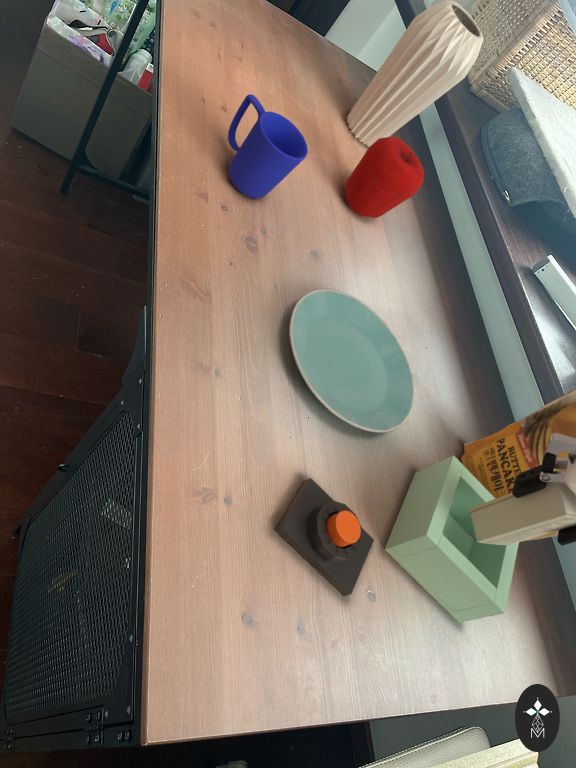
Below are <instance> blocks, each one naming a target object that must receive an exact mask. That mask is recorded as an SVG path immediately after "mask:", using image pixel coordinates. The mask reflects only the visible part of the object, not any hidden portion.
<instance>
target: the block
mask: <svg viewBox="0 0 576 768" xmlns="http://www.w3.org/2000/svg"><path fill="white" fill-rule="evenodd" d="M341 511H349V512H351V513H352V514H353V515H354V516H355V517H356V518H357V520H358V522H359V524H360V528H361V534H360V537H359V539H358V540H357V541H356V542H355V543H352V544H349V545H347V546H344V547H339V546H336V545H335V544H333V543H332V542H331V540H330V539H329V537H328V534H327V532H326V523H327V520H328V518H329V517H330V516H332V515H334V514H337V513H339V512H341ZM275 532H276V533H277V534H278V535H279V536H280V537H281V538H282V539H283V540H284V541H285V542H287V543H288V544H289V545H290V546H291V547H292V548H293V549H294V550H295V551H296V552H297V553H298V554H299V555H301V557H302V558H303V559H304V560H306V562H308V563H309V564H310V565H311V566H312V567H313V568H314V569H315V570H316V571H317V572H318V573H319V574H320V575H321V576H322V577H323V578H325V579H326V580H327V581H328V583H330V584H331V586H333V587H334V588H335V589H336V590H337V591H338V592H339V593H341V594H342V596H343V597H348V596H350V595H352V593H353V592H354V589H355V587H356V584H357V582H358V579H359V577H360V575H361V572H362V570H363V567H364V565H365V563H366V560H367V558H368V556H369V554H370V551H371V549H372V546H373V544H374V542H375V539H374V538H373V537H372V536H371V535H370V534H369V533H368V532H367V531H366V529H364V528H363V527H362V525H361V523H360V520H359V518H358V517H357V514H356V513H355V512H354V511H353V510H352V509H351V508H350V507H349V506H348V505H347V504H345V503H343V502H341V501H336V500H335V499H333V498H332V497H331V496H330V495H329V494H328V493H327V492H326V491H325V490H324V489H323V488H322V487H321V485H318V484H317V482H316V481H315V480H314V479H313V478H312V477H309V478H306V479H305V480H304V481H303V483H302V484H301V486H300V488H298V491H297V492H296V494H295V496H294V498H293V500H292V502H291V503H290V505H289V506H288V508H287V510H286V511H285V513H284V515H283V517H282V518H281V520H280V522H279V524H278V525H277V527H276V529H275Z"/></svg>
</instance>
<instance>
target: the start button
mask: <svg viewBox="0 0 576 768" xmlns="http://www.w3.org/2000/svg"><path fill="white" fill-rule="evenodd" d="M357 518H358V517H357ZM357 518H356V517H355V516H354V515H353V514H352V513H351V512H349V511H341V512H339V513H337V514H334V515H332V516H330V517H329V518H328V520H327V523H326V532H327V534H328V537H329V539H330V540H331V542H332V543H333V544H335V545H336V546H339V547H344V546H347V545H349V544H352V543H355V542H356V541H357V540H358V539H359V537H360V534H361V528H360V525H361V523H360V521H359V519H358V520H357ZM358 521H359V522H358ZM359 523H360V524H359Z"/></svg>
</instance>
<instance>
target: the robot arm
mask: <svg viewBox="0 0 576 768" xmlns="http://www.w3.org/2000/svg"><path fill="white" fill-rule="evenodd" d="M560 452H566V453H568V457H569V458H557V456H558V454H559V453H560ZM554 469H566V471H553V470H554ZM547 482H551V483H566V484H567V486H568V487H569V488H570V490H571V491H572V492H573V493H574V494H575V495H576V438H573V437H569V436H566V435H563V434H559V433H553V434H552V435H551V437H550V439H549V442H548V444H547V447H546V448H545V452H544V457H543V460H542V465H539V466H537V467H534V468H532V469H529V470H527V471H524V472H522V473H520V474H518V475H517V477H516V478H515V482H514V487H513V491H512V494H513V496H514V497H516V498H520V497H523V496H525V495H528V494H531V493H534V492H536V491H539V490H542V489H544V488H545V487H546V485H547ZM557 543H558V544H559V545H560V546H562V547H563V546H566V545H570V544H572V543H576V525H575V526H572V527H569V528H565V529H562V530H559V532H558V535H557Z"/></svg>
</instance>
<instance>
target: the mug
mask: <svg viewBox="0 0 576 768" xmlns="http://www.w3.org/2000/svg"><path fill="white" fill-rule="evenodd" d="M250 105H252V106H253V108H254V109H255V111H256V113H257V120H256V121H255V123H254V125H253V126H252V128H251V129H250V131H249V132H248V133H247V136H246V137H245V138H244V140H243V141H242V142H241V143H242V144H241V145H240V146H239V145H238V142H237V140H236V134H237V129H238V127H239V124H240V122H241V121H242V119H243V117H244V116H245V114H246V112H247V111H248V109H249V107H250ZM227 141H228V144H229V147H230V148H231V149H232V150H233V151H235V152H236V153H235V155H234V156H233V158H232V160H231V161H230V163H229V167H228V175H229V179H230V181H231V183H232V184H233V186H234V187H235V188H236V189H237V191H239V192H240V193H241V194H243V195H244V196H246V197H248V198H251V199H261V198H264V197H265V196H267V195H268V194H269V193H270V192H272V191H273V190H274V189H275V188H276V187H277V186H278V185H279V184H280V183H281V182H282V181H283V180H284V179H285V178H286V177H287V176H288V175H289V174H290V173H291V172H292V171H293V170H294V169H296V168H297V167H298V166H299V165H300V164H301V163H302V162H303V161H304V160H305V159H306V158H307V156H308V153H309V150H308V149H309V147H308V144H307V141H306V139H305V137H304V136H303V134H302V132H301V131H300V129H299V128H298V127H297V126H296V125H295V124H294V123H293V122H292V121H291V120H290V119H288V118H287V117H285V116H284V115H282V114H280V113H278V112H275V111H266V110H265V108H264V107H263V104H262V103H261V102H260V101H259V99H258V98H257V96H255V95H254V94H252V93H251V94H247V95H246V96H245V97H244V99H243V101H242V102H241V104H240V106H239V107H238V109H237V111H236V113H235V114H234V116H233V119H232V121H231V122H230V125H229V128H228V131H227Z"/></svg>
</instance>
